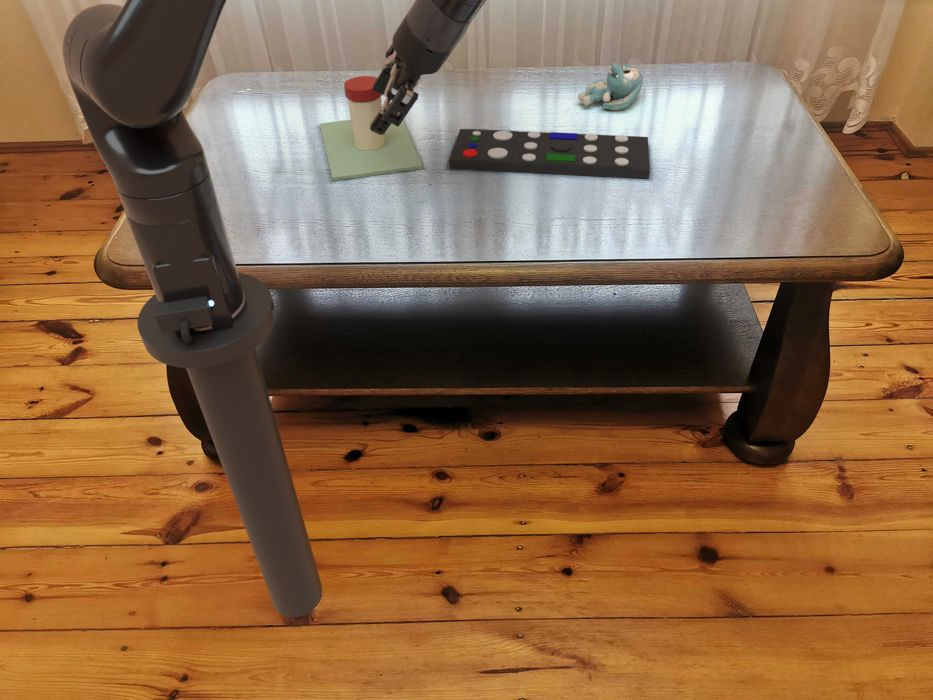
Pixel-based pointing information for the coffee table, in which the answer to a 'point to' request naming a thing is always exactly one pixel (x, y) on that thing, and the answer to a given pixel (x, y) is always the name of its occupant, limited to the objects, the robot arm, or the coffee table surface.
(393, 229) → the coffee table surface
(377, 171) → the felt mat
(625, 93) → the stuffed animal
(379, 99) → the beige jar
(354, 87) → the red lid
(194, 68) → the robot arm
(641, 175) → the remote control
